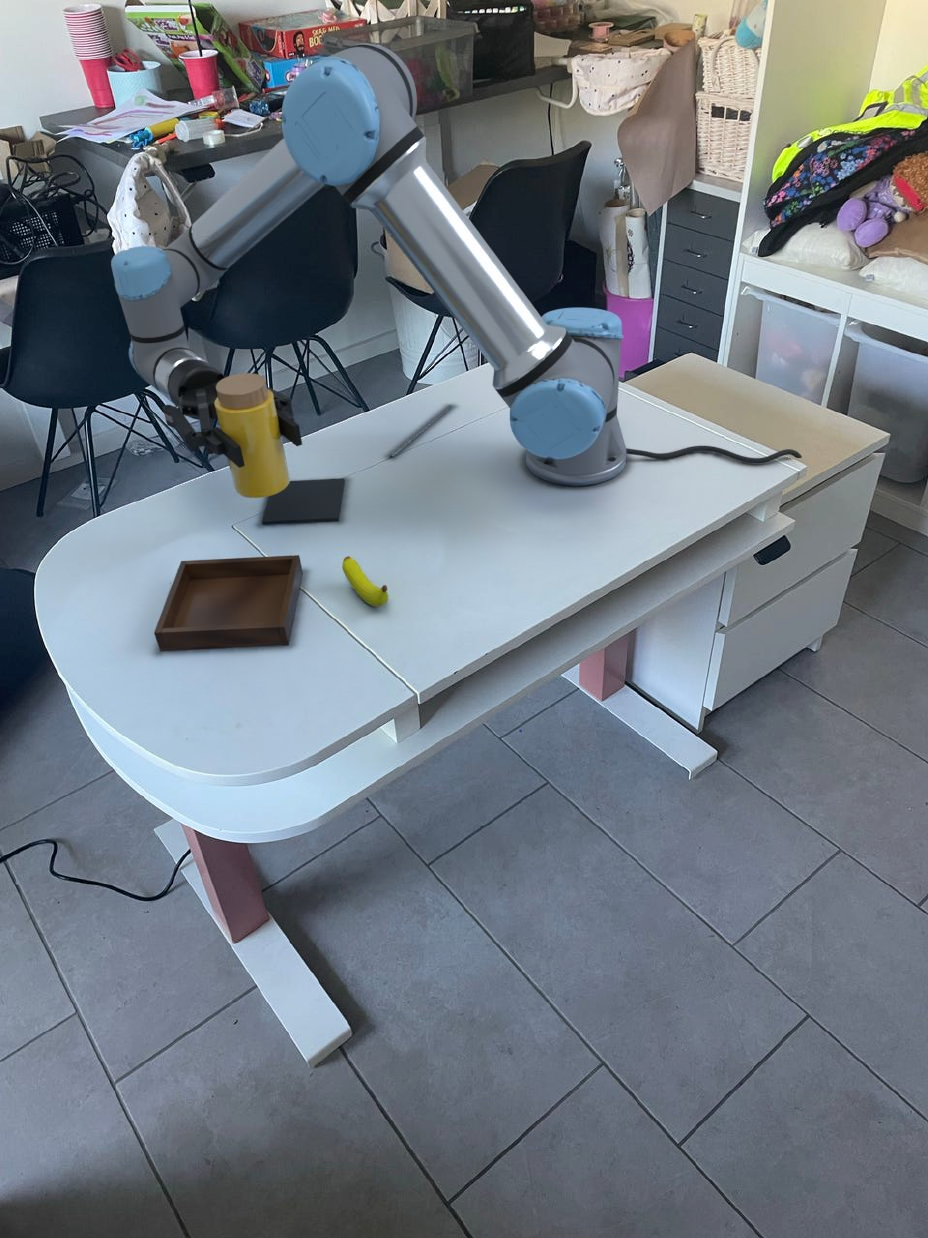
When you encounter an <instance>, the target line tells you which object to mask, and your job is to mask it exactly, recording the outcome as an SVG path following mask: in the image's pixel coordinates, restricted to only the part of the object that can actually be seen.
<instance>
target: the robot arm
mask: <svg viewBox="0 0 928 1238" xmlns="http://www.w3.org/2000/svg"><path fill="white" fill-rule="evenodd" d="M281 108H282V109H281V129H282V135H283V138H282V139H281V140H280V141H279V142H278V143H276V144H275V146H273V147H272V148H271V149H270V150H269V151H268V152H267V153H266V154H264V156H263V157H262V158H261V159H259V160H258V162H256V163H255V164H254V165H253V166H252V167H251V168H250V169H249V170H248V171H246V173H245V174H244V175H242V177H241V178H240V179H238V180H237V181H236V182H235V183H234V184H233V185H232V186H231V187H230V188H229V189H228V190H227V191H226V192H225V193H224V194H223V195H222V196H220V198H218V199H217V201H215V203H213V204H212V205H211V206H210V207H209V208H208V209H207V210H206V211H205V212H204V213H203V214H201V216H200V217H198V218H197V220H195V221H194V222H193V223H192V224H191V225H190V226H189V227H188V228H187V229H185V231H184V232H183V233H181V234H180V235H179V236H178V237H177V238H175V240H174V241H172V242H171V243H170V244H168V245H166V247H164V248H163V249H162V248H160V247H157V246H152V245H142V246H133V247H129V248H128V249H124V250H123V249H122V250H121V251H119V252H117V253H115V254H114V256H113V257H112V258H111V262H110V266H111V270H112V275H113V279H114V287H115V292H116V293H117V296H118V299H119V302H120V306H121V308H122V312H123V315H124V318H125V319H124V320H125V322H126V325H127V328H128V332H129V335H130V340H131V341H130V344H129V349H128V358H129V361H130V365H131V366H132V367H133V369H134V370H135V371H136V373H137V375H138V376H140V378H141V379H142V380H143V381H144V382H146V383H147V384H149V385H150V386H151V387H153V388H154V389H155V390H156V391H157V392H159V393H160V394H161V395H163V396H164V397H165V398H166V399H167V400H168V401H169V402H171V403H172V404H173V405H172V404H165V405H163V406H162V407H161V408H162V411H163V415H164V419H165V422H166V425H167V427H168V426H169V427H171V428H172V429H174V430H175V431H176V432H177V433H178V435H179V437H180V438H181V439H182V441H183V443H184V444H185V445H186V447H187V449H188V450H189V451H190V452H197V451H199V450H200V447H201V448H202V447H204V448H205V452H206V454H207V455H213V454H215V455H217V456H220V455H221V456H222V455H224V456H225V457H226V458H227V459H228V458H229V459H230V460H231V461H232V462H233V463H234V464H235V465H237V466H238V467H239V468H240V467H243V466H245V464H244V460H243V455H242V451H241V447H240V445H239V444H237V443H236V442H235V441H234V440H233V439H231V438H230V437H229V436H228V435H227V434H225V433H224V432H223V431H222V430H221V429H220V427H218V426H216V427H213V426H214V425H213V419H218V417H217V413H216V409H215V405H214V403H215V400H216V398H217V397H218V395H217V391H216V385H217V383H218V382H219V381H220V380H222V379H224V378H226V377H227V376H225V375H224V374H223V372H221V371H220V370H219V369H217V368H216V367H215V366H213V365H212V364H211V363H209V362H208V360H206V359H204V358H203V357H201V356H200V355H198V354H197V353H196V352H195V351H193V350H191V348H190V345H189V341H188V337H187V332H186V328H185V324H184V323H185V322H184V320H183V315H182V311H181V308H182V307H183V306H184V305H186V304H188V302H190V301H191V300H193V299H194V298H195V297H196V296H197V295H199V294H200V293H202V292H203V291H204V290H206V289H207V288H208V287H210V286H212V285H214V284H215V283H216V282H217V281H219V280H220V279H221V278H222V277H223V275H224V274H225V272H227V271H228V270H229V269H230V268H231V267H232V266H233V265H234V264H235V263H237V262H238V261H239V260H240V259H241V258H242V257H243V256H245V255H246V254H247V253H248V252H249V251H250V250H251V249H253V248H254V247H255V246H256V245H258V244H259V243H260V242H261V241H262V240H264V238H265V237H267V236H268V235H269V234H270V233H271V232H273V230H275V229H276V228H278V226H280V225H281V224H282V223H283V222H284V221H285V220H286V219H288V218H289V217H290V216H291V215H292V214H294V212H296V211H297V210H298V209H299V208H300V207H301V206H303V205H304V204H305V203H306V202H307V201H308V200H310V199H311V198H312V197H313V196H314V195H315V194H316V193H318V192H319V191H320V190H321V189H322V188H323V187H325V186H332V187H335V189H336V190H337V191H338V192H339V194H340V195H341V196H342V197H343V198H344V200H345V201H346V203H348V205H349V206H350V207H351V208H352V209H360V210H367V211H369V212H371V213H372V214H373V216H374V217H375V218H376V220H377V221H378V222H379V224H381V226H382V227H383V228H384V230H385V231H386V233H388V235H389V236H390V238H391V239H392V240H393V241H394V243H395V244H396V246H397V247H398V248H399V249H400V250H401V251H402V253H403V254H404V255H405V257H406V258H407V259H408V261H409V262H410V263H411V264H412V265H413V267H414V268H415V270H416V271H417V272H418V273H419V274H420V276H421V277H422V278H423V280H424V281H425V282H426V284H427V285H428V286H429V287H430V289H431V290H432V291H433V293H434V294H435V295H436V296H437V298H438V299H439V300H440V302H441V303H442V304H443V305H444V307H445V308H446V309H447V311H448V312H449V313H450V315H451V316H452V317H453V318H454V320H455V321H456V322H457V324H459V326H460V327H461V328H462V330H463V331H464V332H465V333H466V335H467V336H468V338H469V339H470V340H471V342H472V343H473V344H474V346H475V347H477V349H478V350H479V352H480V353H481V354H482V356H483V357H484V358H485V359H486V361H487V362H488V363H489V365H490V366H491V367H492V368H493V376H492V387H493V389H494V390H495V391H496V393H497V394H498V395H499V397H500V398H501V399H502V401H503V402H504V403H505V404H506V405H507V407H508V408H509V425H510V428H511V432H512V434H513V436H514V438H515V440H516V441H517V443H518V444H519V445H520V446H521V447H522V448H524V449H525V450H526V451H525V463H526V466H527V469H528V470H529V471H530V472H531V473H532V474H533V475H535V476H536V477H538V478H540V479H542V480H544V481H547V482H549V483H553V484H557V485H562V486H573V487H577V486H578V487H580V486H591V485H597V484H600V483H603V482H606V481H607V482H608V481H609V480H611V479H613V478H615V477H617V476H618V475H619V474H620V473H621V472H623V470H624V468H625V467H626V463H627V455H634V456H640V457H645V458H650V459H657V460H662V459H663V460H665V459H672V458H676V457H679V456H682V455H686V454H689V453H694V452H711V453H716V454H719V455H721V456H725V457H727V458H730V459H733V460H736V461H739V462H741V463H745V464H746V463H747V464H754V465H755V464H756V465H757V464H765V463H769V462H772V461H775V460H776V459H779V458H781V457H783V456H787V455H788V456H793V457H794V458H795V459H803V456H802V454H801V453H800V452H798V451H797V450H795V449H792V448H791V449H790V448H789V449H788V448H786V449H782V450H779V451H777V452H775V453H772V454H770V455H767V456H764V457H749V456H745V455H740V454H737V453H735V452H732V451H729V450H727V449H724V448H721V447H717V446H714V445H713V446H712V445H693V446H688V447H684V448H681V449H677V450H675V451H671V452H661V453H660V452H658V453H657V452H652V451H647V450H642V449H635V448H634V449H633V448H627V445H626V443H625V439H624V436H623V432H622V427H621V425H620V422H619V418H618V403H619V402H618V401H619V388H620V387H619V385H620V370H621V369H620V368H621V354H622V353H621V352H622V340H623V339H624V335H623V322H622V320H621V317H620V316H619V315H617V314H615V313H613V312H611V311H608V310H605V309H600V308H594V307H565V308H564V307H563V308H558V309H554V310H551V311H547V312H546V313H544V314H543V315H542V316H541V315H540V314H539V312H538V311H537V309H536V308H535V307H534V305H533V304H532V302H531V301H530V300H529V299H528V297H527V296H526V294H525V293H524V291H522V289H521V288H520V287H519V285H518V284H517V282H516V281H515V280H514V278H513V277H512V275H511V274H510V273H509V271H508V270H507V269H506V268H505V266H504V265H503V263H502V262H501V260H500V259H499V258H498V256H497V255H496V254H495V252H494V251H493V249H492V248H491V247H490V246H489V244H488V243H487V242H486V240H485V238H483V236H482V235H481V233H480V232H479V230H477V228H476V227H475V225H474V224H473V223H472V221H471V220H470V218H469V217H468V216H467V215H466V213H465V212H464V210H463V209H462V207H461V206H460V205H459V203H458V202H457V201H456V199H455V198H454V197H453V195H452V194H451V193H450V191H449V190H448V189H447V187H446V186H445V184H444V183H443V182H442V181H441V179H440V178H439V176H438V175H437V174H436V172H435V171H434V170H433V168H432V167H431V165H430V164H429V163H428V162H427V158H426V152H427V151H426V150H427V137H426V136H425V134H424V133H423V131H422V130H421V129H420V128H419V126H418V125H417V123H416V122H415V121H414V120H415V117H416V113H417V108H418V95H417V89H416V84H415V81H414V78H413V76H412V74H411V72H410V69H409V68H408V66H407V65H406V64H405V63H404V61H403V60H402V59H401V58H400V57H399V56H398V54H396V53H395V52H394V51H392V50H391V49H388V48H387V47H385V46H382V45H380V44H376V43H370V42H369V43H368V42H367V43H366V42H364V43H357V44H354V45H351V46H348V47H346V48H344V49H342V50H341V51H338V52H336V53H334V54H331V55H328V56H325V57H321V58H319V59H316V60H313V61H312V62H311V63H310V65H308V66H307V67H306V68H304V69H303V70H302V71H301V72H300V73H298V74H297V76H295V77H294V79H293V80H292V81H291V83H290V85H289V86H288V87H287V90H286V92H285V95H284V98H283V101H282V107H281ZM267 389H269V390H270V391H271V392H272V393H273V395H274V400H275V405H276V410H277V416H278V421H279V426H280V431H281V436H282V437H284V438H285V439H286V440H288V441H289V442H290V443H292V444H293V445H294V446H296V447H300V446H302V445H303V440H302V435H301V429H300V425H299V424H298V423H297V422H295V418H294V416H295V415H294V410H293V404H292V399H291V397H289V396H287V395H285V394H283V393H282V392H279V391H277V390H275V389H273V388H271V387H269V386H267ZM186 417H188V418H191V419H193V420H196V421H199V427H200V431H196V430H195V429H194V427H193V426H192V424H191V423H190V422H189V420H188V419H187V418H186Z"/></svg>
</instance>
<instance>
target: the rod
mask: <svg viewBox="0 0 928 1238" xmlns="http://www.w3.org/2000/svg"><path fill="white" fill-rule="evenodd" d="M452 409H453V405H451V404H449V405H448V406H447V407H445V408H444V409H443V410H442V411H441V412H440V413H438V414H437V415H436V416H435V417H433V418H432V419H431V420H430V421H428V423H427V424H425V425H424V426H422V427H421V428H420V429H418V431H417V432H416V433H414V434H413V435H412V436H410V438H409V439H407V440H406V441H405V442H404V443H403V444H402V445H400V446H399V447H397V448H396V449H395V450H394V451H392V453H391V454H390V455H389V457H390V458H392V459H393V458H395V457H396V456H397V455H399V454H400V453H401V452H402V451H403V450H404V449H406V448H407V447H408V446H409V445H410V444H412V442H414V441H415V440H416V439H418V438H419V437H420V436H421V435H422V434H423V433H424V432H426V431H427V430H428V429H429V428H431V427H432V426H433V425H434V424H435V423H436V422H437V421H438V420H440V419H441V418H442V417H444V415H446V414H447V413H448V412H449V411H450V410H452Z"/></svg>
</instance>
